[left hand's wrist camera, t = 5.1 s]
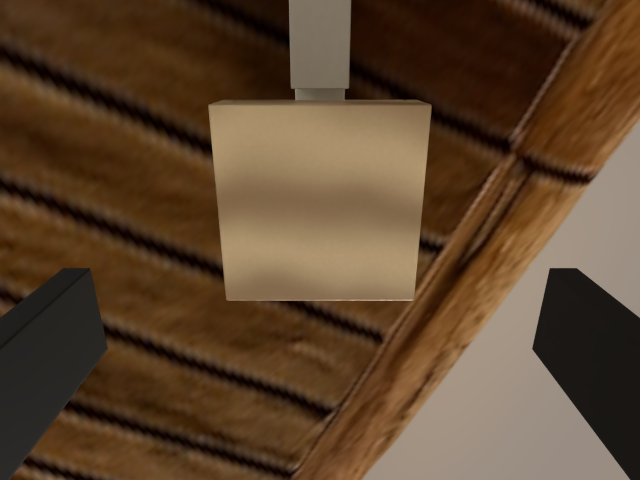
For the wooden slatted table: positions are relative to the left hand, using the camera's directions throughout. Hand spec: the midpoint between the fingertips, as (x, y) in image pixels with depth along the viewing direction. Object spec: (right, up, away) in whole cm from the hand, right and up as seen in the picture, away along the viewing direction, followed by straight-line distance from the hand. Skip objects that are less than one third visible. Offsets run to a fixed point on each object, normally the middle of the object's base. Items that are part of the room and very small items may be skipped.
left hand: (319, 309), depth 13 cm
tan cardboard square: (0, +5, +11) cm, 12 cm away
